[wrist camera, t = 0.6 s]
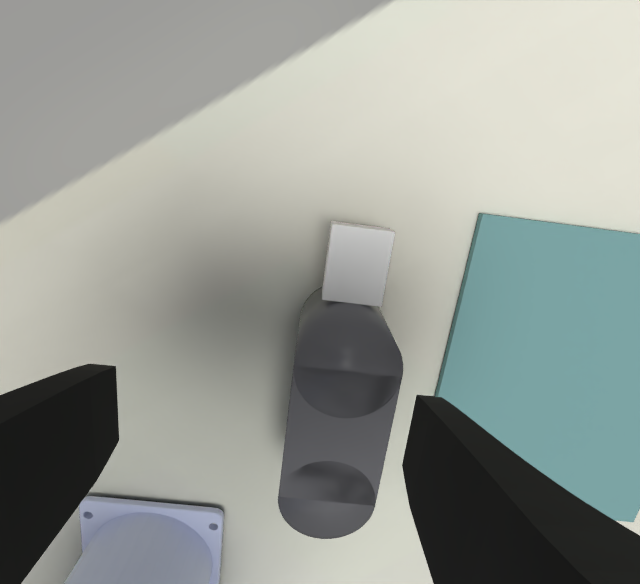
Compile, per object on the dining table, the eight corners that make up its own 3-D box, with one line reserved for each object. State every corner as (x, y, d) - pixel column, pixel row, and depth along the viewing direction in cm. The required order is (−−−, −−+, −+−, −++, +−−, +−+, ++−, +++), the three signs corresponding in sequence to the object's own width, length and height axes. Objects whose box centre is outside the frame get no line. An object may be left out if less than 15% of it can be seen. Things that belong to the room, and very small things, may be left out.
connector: (355, 459, 21) (367, 542, 16) (284, 452, 21) (273, 534, 16) (399, 225, 17) (430, 242, 12) (312, 214, 17) (309, 227, 12)
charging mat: (627, 516, 22) (633, 522, 22) (410, 494, 21) (412, 500, 21) (750, 248, 17) (760, 250, 17) (479, 213, 17) (482, 213, 17)
